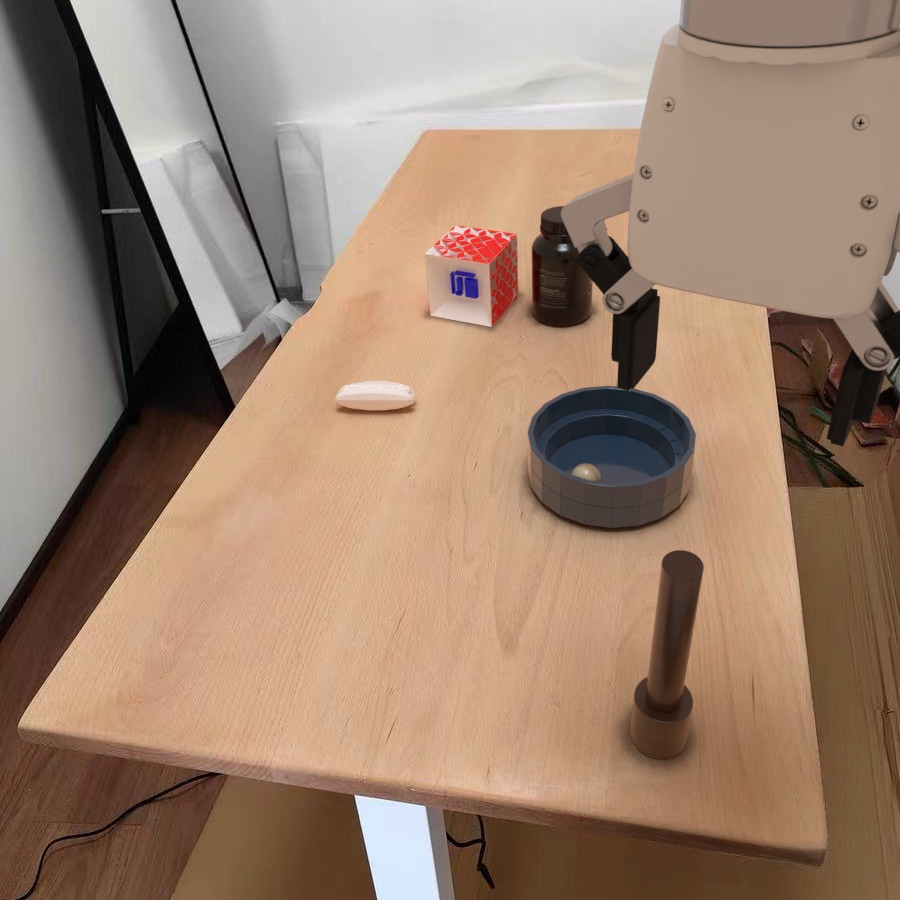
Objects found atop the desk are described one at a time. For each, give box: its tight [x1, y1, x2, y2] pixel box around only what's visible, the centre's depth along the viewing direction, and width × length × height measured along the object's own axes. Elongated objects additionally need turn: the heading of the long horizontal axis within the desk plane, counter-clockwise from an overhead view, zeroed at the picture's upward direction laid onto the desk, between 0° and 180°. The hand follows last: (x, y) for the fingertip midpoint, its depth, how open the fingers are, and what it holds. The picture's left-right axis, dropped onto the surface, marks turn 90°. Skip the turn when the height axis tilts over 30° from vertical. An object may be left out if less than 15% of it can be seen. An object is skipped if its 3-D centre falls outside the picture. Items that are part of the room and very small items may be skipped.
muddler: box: [629, 549, 705, 760], centre depth 52 cm, size 4×4×16 cm
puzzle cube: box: [424, 224, 519, 328], centre depth 100 cm, size 8×8×8 cm
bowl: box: [527, 385, 697, 529], centre depth 75 cm, size 14×14×5 cm
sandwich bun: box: [334, 380, 416, 412], centre depth 87 cm, size 3×8×3 cm, turn 84°
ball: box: [571, 463, 601, 482], centre depth 74 cm, size 3×3×3 cm
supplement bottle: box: [531, 205, 594, 327], centre depth 96 cm, size 7×7×12 cm
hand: (733, 400), depth 40 cm, fingers open, 9 cm apart
